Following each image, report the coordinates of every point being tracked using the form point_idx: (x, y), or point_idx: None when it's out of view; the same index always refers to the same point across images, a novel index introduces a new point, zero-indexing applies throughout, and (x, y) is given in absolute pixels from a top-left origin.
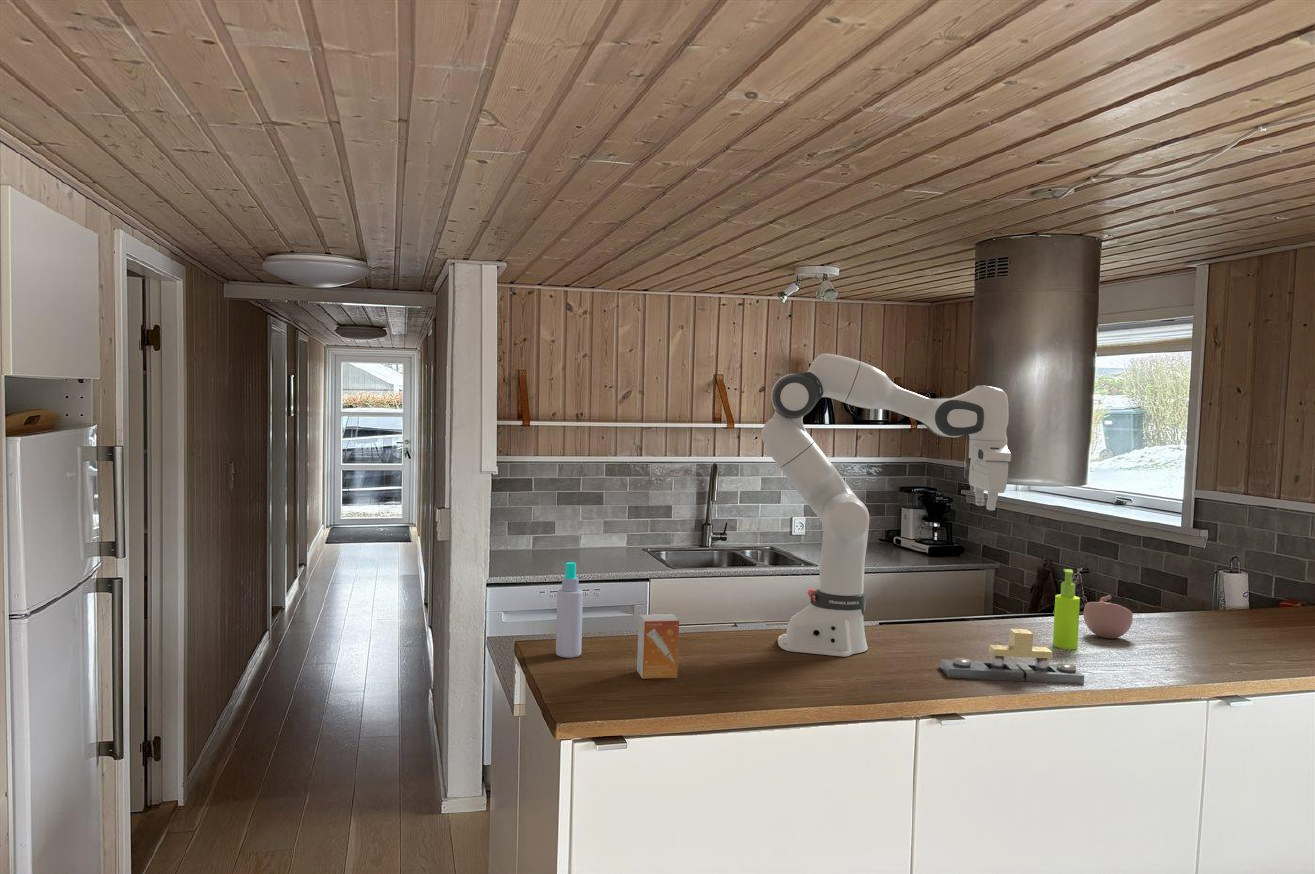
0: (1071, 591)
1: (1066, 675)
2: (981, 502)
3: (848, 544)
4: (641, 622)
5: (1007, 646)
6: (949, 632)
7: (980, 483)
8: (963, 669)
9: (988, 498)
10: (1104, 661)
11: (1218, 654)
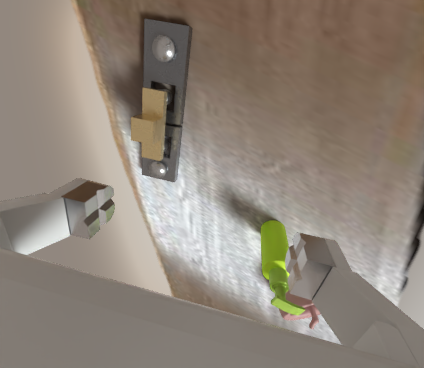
0: (269, 278)
1: (142, 159)
2: (295, 262)
3: None
4: None
5: (158, 113)
6: (365, 127)
7: (27, 332)
8: (144, 41)
9: (1, 202)
10: (218, 232)
11: None
